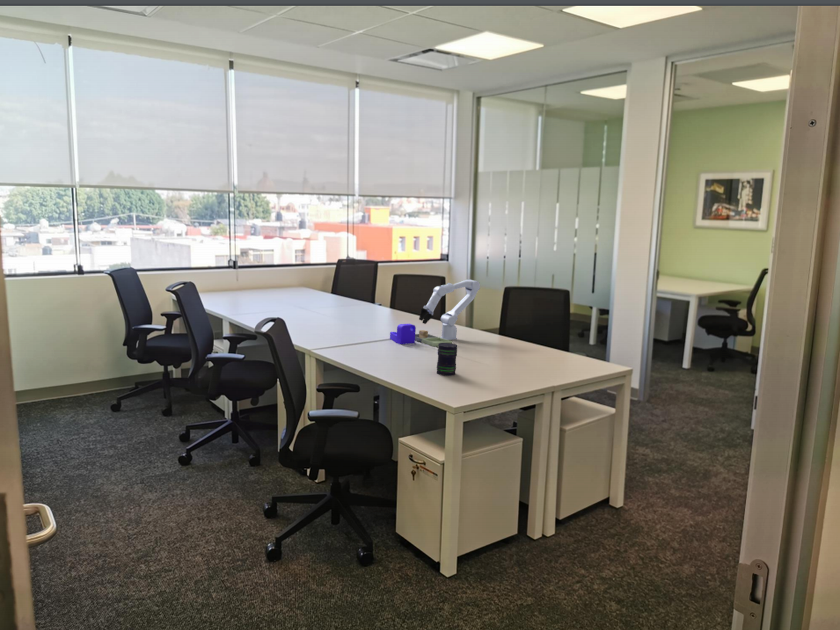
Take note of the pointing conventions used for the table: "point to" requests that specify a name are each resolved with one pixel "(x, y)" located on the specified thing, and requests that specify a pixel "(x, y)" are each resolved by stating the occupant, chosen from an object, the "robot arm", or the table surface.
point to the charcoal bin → (423, 338)
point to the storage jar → (446, 359)
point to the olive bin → (435, 341)
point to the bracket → (404, 334)
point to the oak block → (423, 334)
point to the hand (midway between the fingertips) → (422, 321)
